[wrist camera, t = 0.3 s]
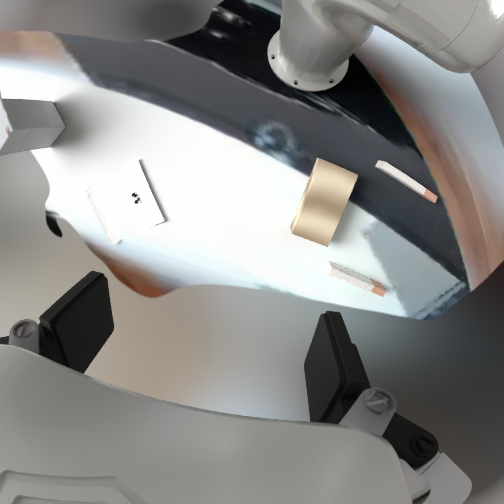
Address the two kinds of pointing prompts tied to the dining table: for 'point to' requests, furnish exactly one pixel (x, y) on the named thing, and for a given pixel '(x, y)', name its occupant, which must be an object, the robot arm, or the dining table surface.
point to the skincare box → (28, 125)
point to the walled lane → (360, 279)
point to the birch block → (323, 202)
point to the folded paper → (143, 198)
